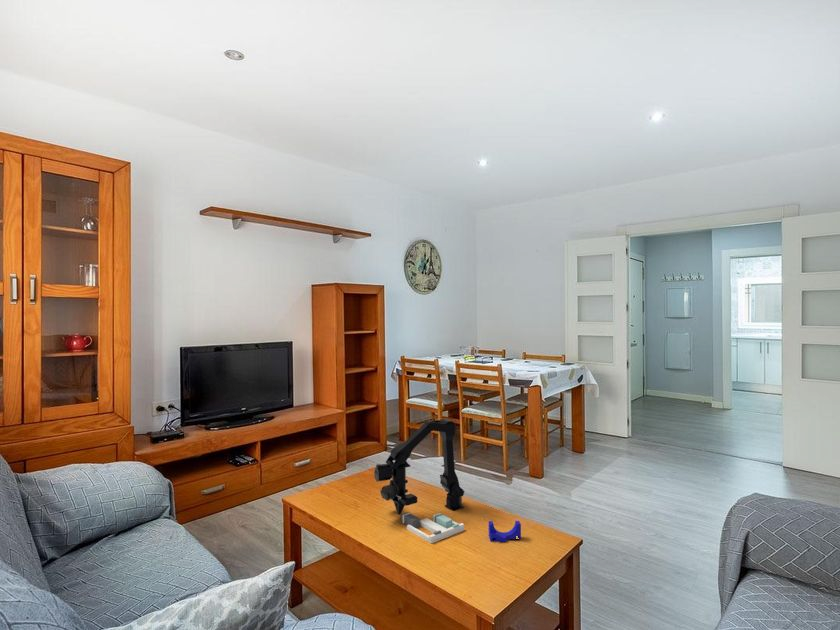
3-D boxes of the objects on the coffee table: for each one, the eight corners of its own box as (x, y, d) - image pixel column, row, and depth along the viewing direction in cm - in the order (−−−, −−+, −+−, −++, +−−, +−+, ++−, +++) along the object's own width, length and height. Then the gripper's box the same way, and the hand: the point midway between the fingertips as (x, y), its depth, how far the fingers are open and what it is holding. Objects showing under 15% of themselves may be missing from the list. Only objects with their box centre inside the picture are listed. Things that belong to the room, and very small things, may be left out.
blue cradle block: (490, 542, 180) (490, 526, 180) (488, 536, 185) (488, 521, 185) (521, 541, 180) (521, 525, 180) (519, 536, 185) (519, 520, 185)
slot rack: (439, 517, 201) (439, 510, 201) (464, 530, 189) (464, 522, 189) (406, 529, 191) (406, 521, 191) (431, 543, 179) (431, 535, 179)
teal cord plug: (439, 521, 198) (439, 512, 198) (452, 528, 192) (452, 519, 192) (433, 523, 196) (433, 515, 196) (445, 530, 189) (445, 521, 189)
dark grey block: (408, 520, 199) (408, 511, 199) (419, 526, 193) (419, 518, 193) (401, 522, 197) (401, 513, 197) (412, 529, 191) (412, 520, 191)
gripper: (371, 476, 204) (371, 512, 204) (396, 488, 189) (396, 527, 189) (392, 470, 211) (392, 505, 211) (418, 482, 196) (418, 519, 196)
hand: (399, 514), depth 201 cm, fingers closed
